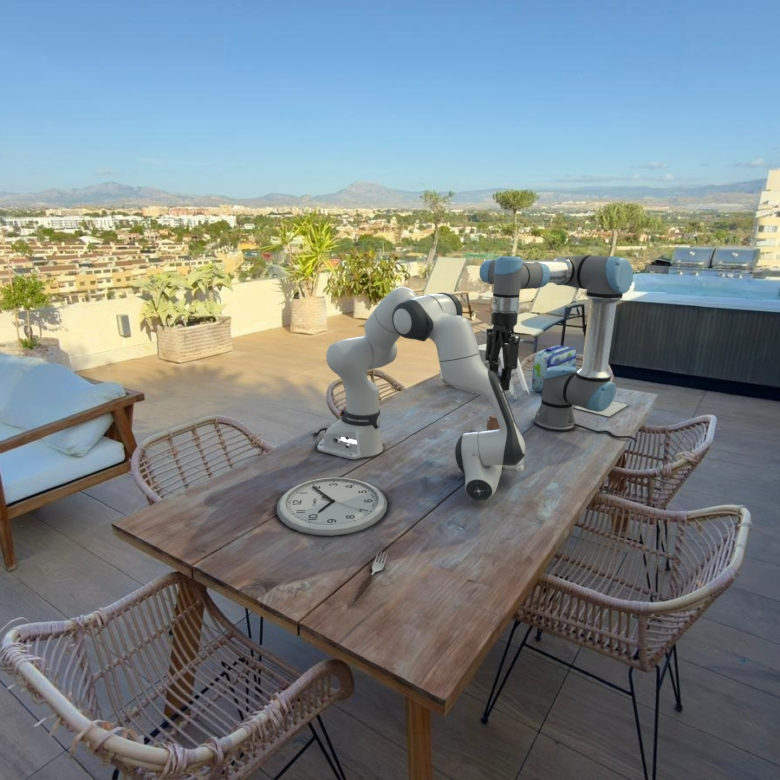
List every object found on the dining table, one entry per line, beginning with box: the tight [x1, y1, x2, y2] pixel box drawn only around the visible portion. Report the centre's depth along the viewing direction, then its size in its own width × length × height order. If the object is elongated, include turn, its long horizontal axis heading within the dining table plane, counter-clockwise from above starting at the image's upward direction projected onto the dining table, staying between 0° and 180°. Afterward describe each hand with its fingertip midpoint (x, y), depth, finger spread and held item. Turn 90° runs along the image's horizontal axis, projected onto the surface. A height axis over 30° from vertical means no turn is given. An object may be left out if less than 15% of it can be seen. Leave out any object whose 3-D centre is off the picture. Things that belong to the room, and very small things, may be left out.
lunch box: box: [531, 345, 577, 393], centre depth 245 cm, size 26×11×21 cm, turn 134°
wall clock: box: [276, 476, 388, 537], centre depth 142 cm, size 30×2×30 cm
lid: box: [495, 371, 502, 383], centre depth 158 cm, size 5×5×2 cm
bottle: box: [486, 413, 500, 431], centre depth 164 cm, size 5×5×18 cm
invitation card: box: [573, 400, 629, 418], centre depth 226 cm, size 21×1×15 cm
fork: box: [354, 550, 388, 603], centre depth 112 cm, size 3×16×2 cm, turn 160°
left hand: (493, 448), depth 165 cm, fingers closed on bottle, 4 cm apart
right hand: (498, 387), depth 159 cm, fingers closed on lid, 5 cm apart
